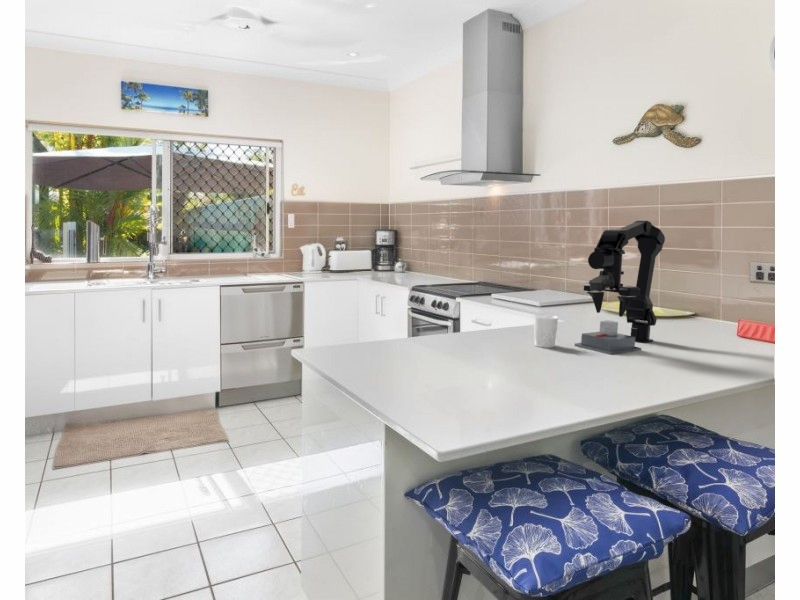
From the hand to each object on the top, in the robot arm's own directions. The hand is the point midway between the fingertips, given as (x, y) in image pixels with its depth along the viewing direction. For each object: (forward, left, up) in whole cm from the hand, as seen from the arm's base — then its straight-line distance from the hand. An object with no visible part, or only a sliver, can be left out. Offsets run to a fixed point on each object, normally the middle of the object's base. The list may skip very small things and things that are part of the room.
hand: (609, 314), depth 189 cm
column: (0, 0, -10) cm, 10 cm away
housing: (0, 0, -11) cm, 11 cm away
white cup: (+17, -12, -12) cm, 24 cm away
